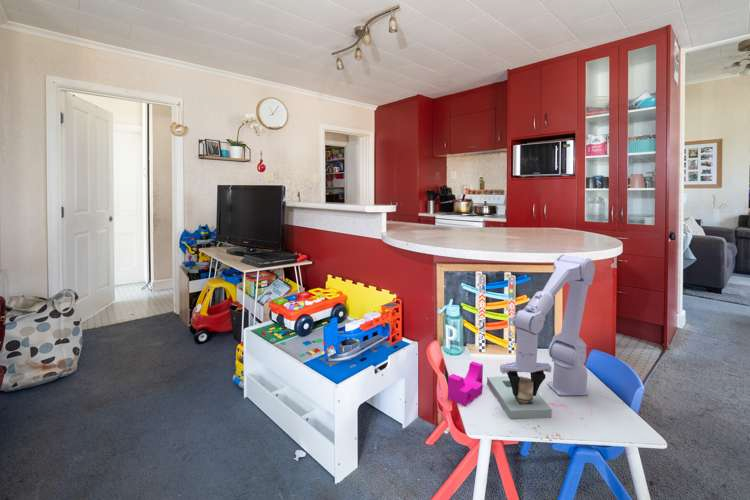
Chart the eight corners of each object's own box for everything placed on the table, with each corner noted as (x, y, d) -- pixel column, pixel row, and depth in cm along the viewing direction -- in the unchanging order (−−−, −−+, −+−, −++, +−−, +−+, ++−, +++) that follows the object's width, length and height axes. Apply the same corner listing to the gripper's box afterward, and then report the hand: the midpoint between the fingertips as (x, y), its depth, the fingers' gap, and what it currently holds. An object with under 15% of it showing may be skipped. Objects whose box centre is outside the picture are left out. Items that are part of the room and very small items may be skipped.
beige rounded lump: (528, 398, 116) (529, 376, 115) (535, 408, 111) (536, 384, 110) (511, 399, 116) (512, 376, 115) (518, 408, 111) (519, 385, 110)
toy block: (465, 406, 115) (465, 383, 114) (447, 399, 119) (448, 376, 118) (489, 388, 125) (489, 366, 124) (472, 381, 130) (472, 361, 129)
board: (521, 383, 128) (522, 376, 128) (551, 417, 108) (551, 409, 108) (487, 383, 128) (487, 376, 127) (510, 418, 108) (510, 410, 108)
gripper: (544, 345, 115) (541, 387, 117) (497, 346, 114) (495, 388, 116) (556, 354, 108) (553, 399, 110) (506, 356, 107) (504, 400, 109)
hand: (524, 394), depth 113 cm, fingers closed on beige rounded lump, 5 cm apart
